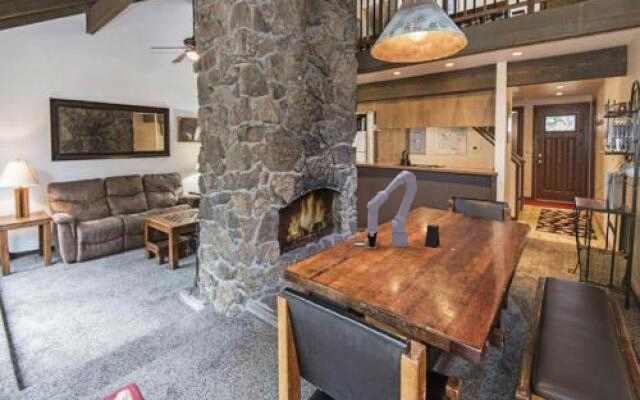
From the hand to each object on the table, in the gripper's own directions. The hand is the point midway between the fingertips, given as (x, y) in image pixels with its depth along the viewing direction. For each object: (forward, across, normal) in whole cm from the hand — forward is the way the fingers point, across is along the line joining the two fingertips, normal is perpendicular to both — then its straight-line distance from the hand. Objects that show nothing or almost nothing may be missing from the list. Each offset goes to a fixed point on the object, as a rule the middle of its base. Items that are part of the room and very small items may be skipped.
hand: (372, 244), depth 209 cm
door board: (+2, 0, -4) cm, 4 cm away
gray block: (0, 0, 0) cm, 0 cm away
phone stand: (+2, -10, +34) cm, 36 cm away
